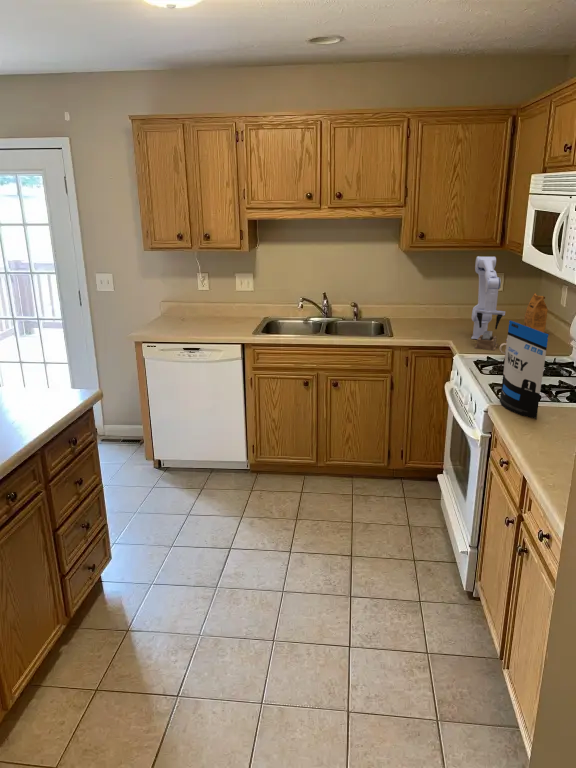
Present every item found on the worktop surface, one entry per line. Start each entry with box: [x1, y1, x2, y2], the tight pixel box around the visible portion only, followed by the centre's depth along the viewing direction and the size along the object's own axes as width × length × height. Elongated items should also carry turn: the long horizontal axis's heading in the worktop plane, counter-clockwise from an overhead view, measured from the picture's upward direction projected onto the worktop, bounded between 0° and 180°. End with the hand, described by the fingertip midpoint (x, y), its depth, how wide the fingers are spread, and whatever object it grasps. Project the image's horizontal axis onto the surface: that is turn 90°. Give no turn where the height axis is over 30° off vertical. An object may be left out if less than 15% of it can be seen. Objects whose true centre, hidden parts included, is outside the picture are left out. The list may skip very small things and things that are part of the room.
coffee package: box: [523, 293, 549, 333], centre depth 327 cm, size 10×12×22 cm
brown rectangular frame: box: [474, 335, 499, 351], centre depth 299 cm, size 13×10×4 cm
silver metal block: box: [482, 330, 493, 341], centre depth 298 cm, size 8×4×7 cm, turn 154°
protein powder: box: [499, 319, 549, 420], centre depth 206 cm, size 10×24×30 cm, turn 10°
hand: (488, 328), depth 296 cm, fingers open, 7 cm apart
